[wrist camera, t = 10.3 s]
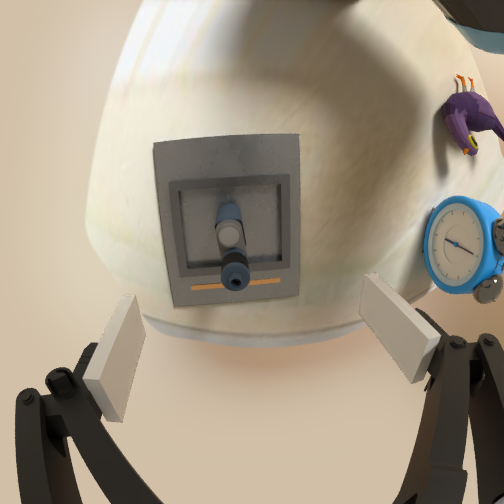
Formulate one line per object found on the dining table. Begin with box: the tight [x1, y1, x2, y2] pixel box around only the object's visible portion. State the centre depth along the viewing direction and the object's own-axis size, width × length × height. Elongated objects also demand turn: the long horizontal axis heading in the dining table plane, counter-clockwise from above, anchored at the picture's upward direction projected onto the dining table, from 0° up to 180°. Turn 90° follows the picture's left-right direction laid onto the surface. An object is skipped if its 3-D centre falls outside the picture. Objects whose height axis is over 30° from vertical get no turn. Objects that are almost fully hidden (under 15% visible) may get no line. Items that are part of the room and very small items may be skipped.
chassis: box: [154, 134, 300, 306], centre depth 33 cm, size 20×16×2 cm
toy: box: [442, 74, 504, 156], centre depth 28 cm, size 11×12×7 cm
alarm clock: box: [422, 196, 504, 304], centre depth 31 cm, size 13×6×15 cm, turn 174°
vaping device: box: [215, 203, 250, 291], centre depth 27 cm, size 3×5×12 cm, turn 9°
